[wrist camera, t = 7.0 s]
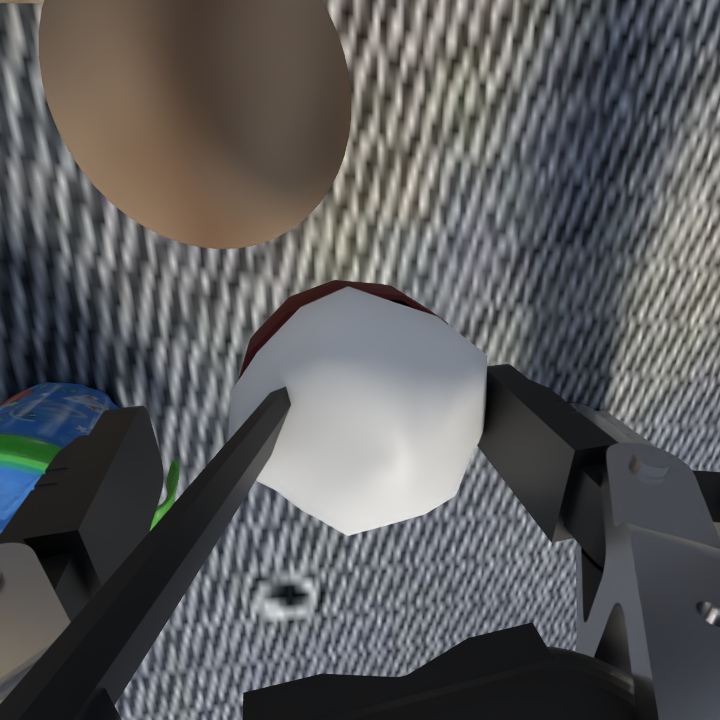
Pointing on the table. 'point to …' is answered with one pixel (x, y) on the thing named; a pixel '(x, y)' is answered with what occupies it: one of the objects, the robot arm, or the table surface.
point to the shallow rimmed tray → (21, 1)
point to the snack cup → (50, 438)
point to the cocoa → (288, 466)
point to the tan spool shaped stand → (200, 110)
